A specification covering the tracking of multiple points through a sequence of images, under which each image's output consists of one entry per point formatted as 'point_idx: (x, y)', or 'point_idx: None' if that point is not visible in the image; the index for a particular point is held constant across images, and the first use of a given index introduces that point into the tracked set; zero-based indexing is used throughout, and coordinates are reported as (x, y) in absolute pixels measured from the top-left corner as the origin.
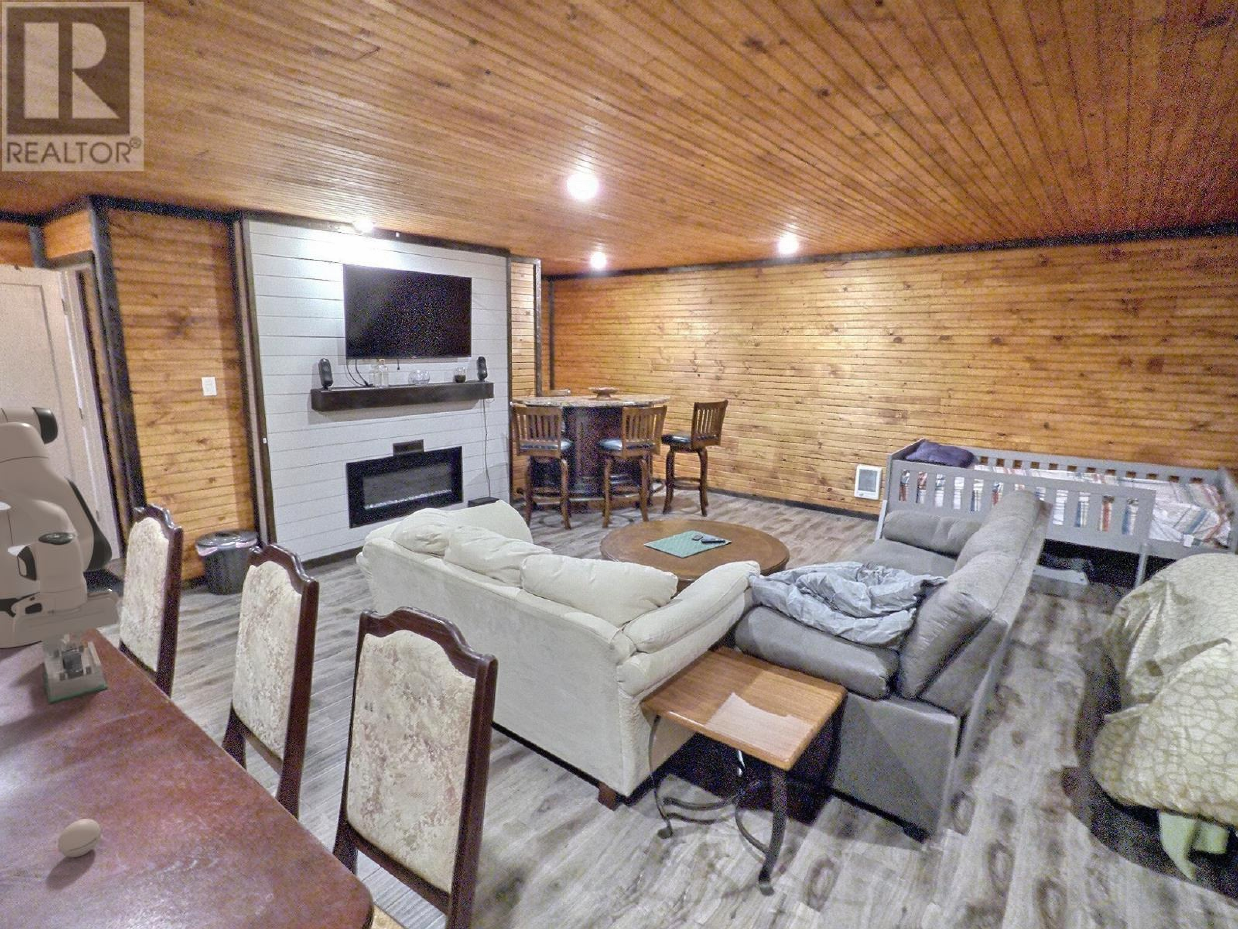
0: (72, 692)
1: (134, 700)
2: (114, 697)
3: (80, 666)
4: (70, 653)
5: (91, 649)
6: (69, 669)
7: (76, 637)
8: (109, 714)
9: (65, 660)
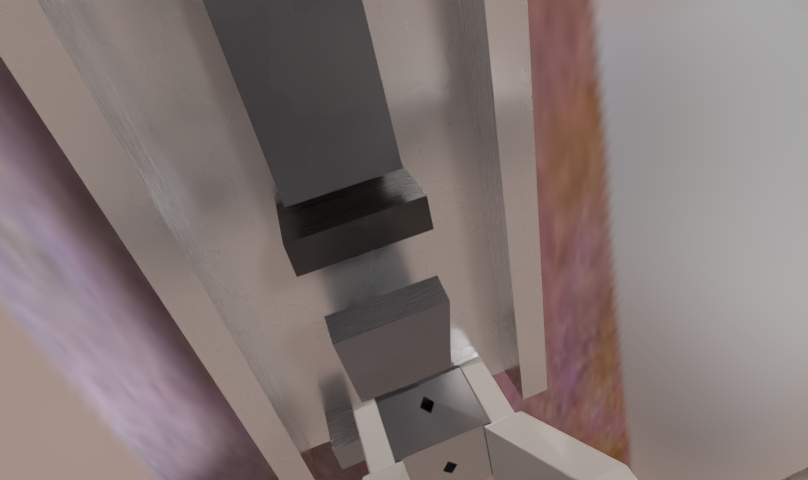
0: None
1: (564, 410)
2: None
3: None
4: (292, 5)
5: (499, 43)
6: None
7: (535, 477)
8: None
9: (351, 370)
